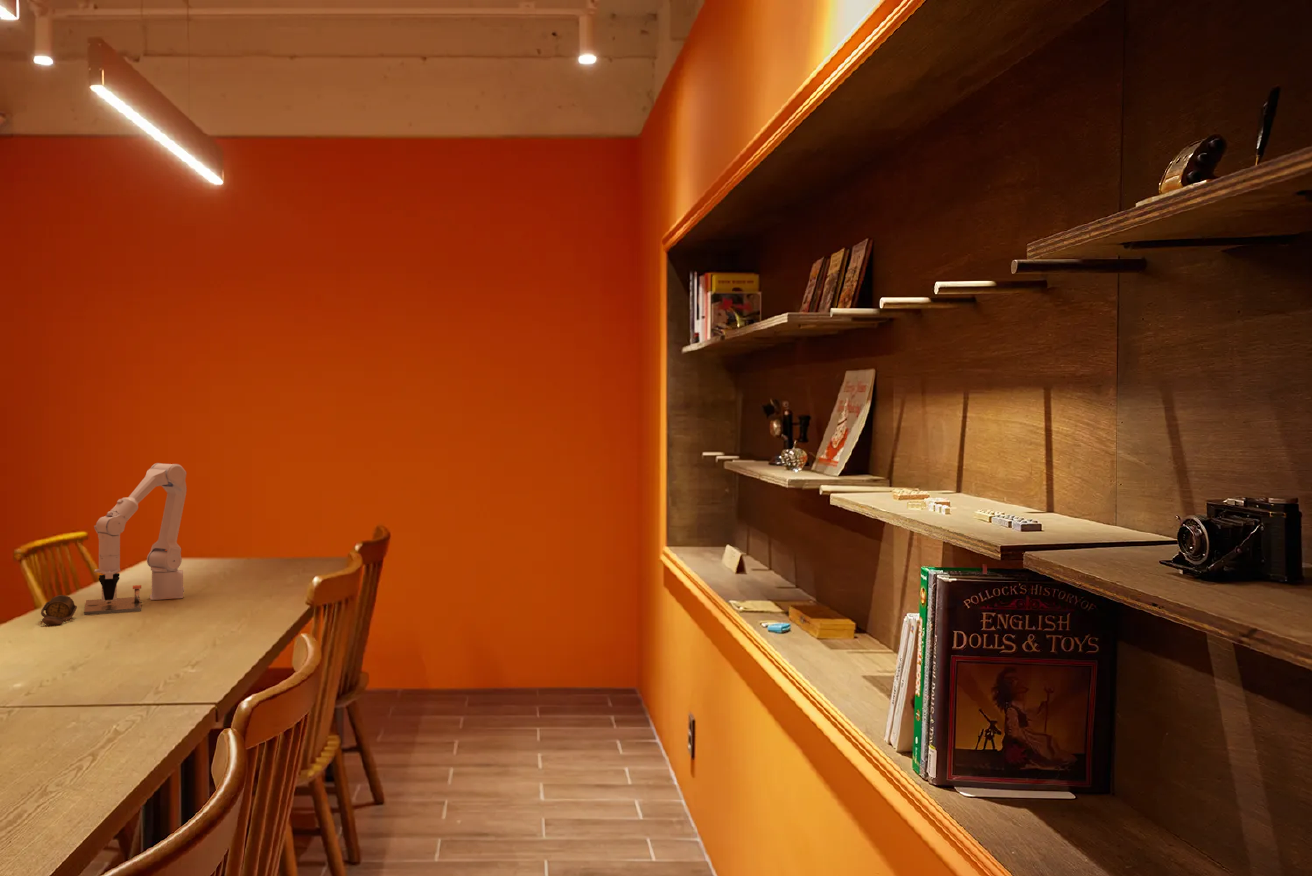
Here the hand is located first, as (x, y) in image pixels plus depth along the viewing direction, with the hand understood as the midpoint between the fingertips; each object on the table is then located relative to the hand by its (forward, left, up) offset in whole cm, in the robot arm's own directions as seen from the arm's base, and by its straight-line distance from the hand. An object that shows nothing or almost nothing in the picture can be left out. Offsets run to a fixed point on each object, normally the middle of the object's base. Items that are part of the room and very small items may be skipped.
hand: (109, 598), depth 300 cm
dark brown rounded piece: (+13, +16, -3) cm, 21 cm away
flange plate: (-1, 0, -3) cm, 3 cm away
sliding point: (0, 0, -1) cm, 1 cm away
